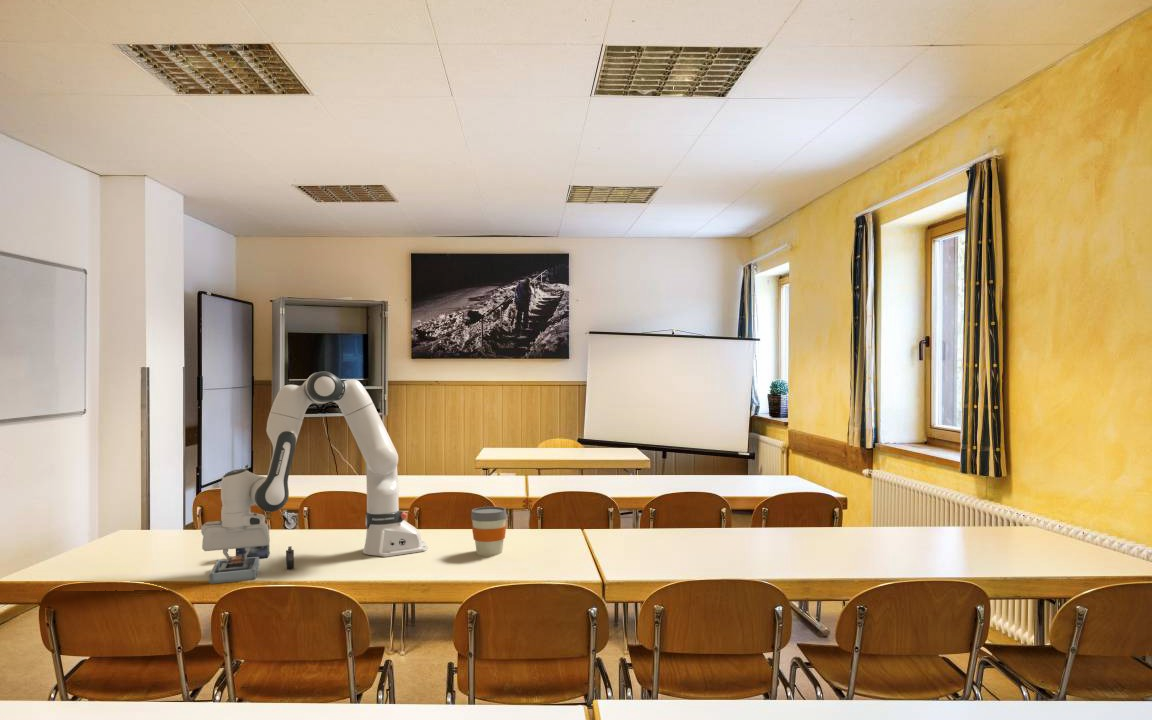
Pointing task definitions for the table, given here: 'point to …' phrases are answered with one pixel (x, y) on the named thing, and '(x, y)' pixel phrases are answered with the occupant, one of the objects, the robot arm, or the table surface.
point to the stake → (289, 558)
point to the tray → (234, 572)
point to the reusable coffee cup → (489, 529)
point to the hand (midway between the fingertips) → (236, 561)
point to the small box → (255, 551)
